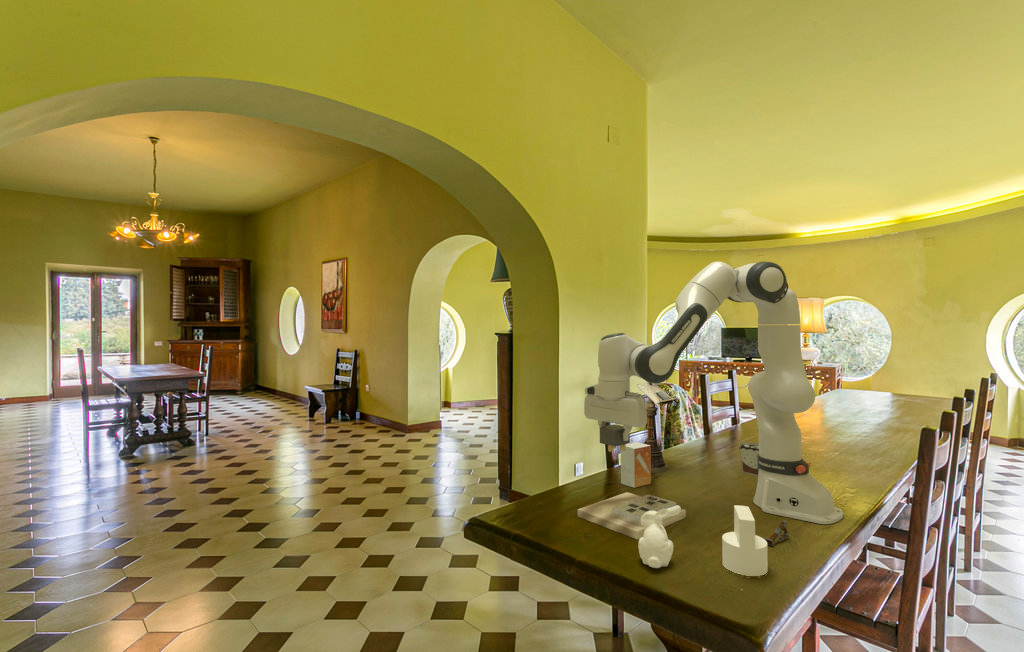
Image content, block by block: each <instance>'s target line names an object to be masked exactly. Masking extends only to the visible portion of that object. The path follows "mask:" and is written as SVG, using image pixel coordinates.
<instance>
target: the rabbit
mask: <svg viewBox="0 0 1024 652" xmlns="http://www.w3.org/2000/svg"><path fill="white" fill-rule="evenodd" d="M681 509H682V508H681V505H677V504H676V506H674V507H671V508H668V509H661V510H659V511H658V512H656V511H648V512H646V513H644V514H643V515H642V517H641V524H642V525H644V526H646V528H645V530H644V535H643V537H641V538H640V539H638V543H637V544H638V545H637V548H638V553H639V557H640V558H641V561H642V563H643V564H644V565H647V566H648V567H651V568H653V569H660V568H663V567H668V566H669V563H670V561H671V559H672V557H673V552H674V543H673V541H672V540H670V539H669V537H668V534H667V531H666V530H667V529H665V528H666V527H663V526H662V518H665V517H669V516H675V515H678V514H679V513H680V511H681Z"/></svg>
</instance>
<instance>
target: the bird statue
mask: <svg viewBox="0 0 1024 652" xmlns="http://www.w3.org/2000/svg"><path fill="white" fill-rule="evenodd" d="M659 385H660V384H659V383H650V382H647V381H646V380H645V382H644V385H643V384H640V383H638V384H636V387H637V388H638V390H640V391H642V392H643V393H644V394H645V395H646V396H647V399H648V401H645V407H646V413H647V426H646V428H647V436H646V438H645V439H644V440H643V441H644V442H643V444H647V445H650V446H651V473H654V474H656V473H657V474H658V473H659V474H660V473H663V472H667V471H669V469H668V464H667V463H666V462H665V459H664V457H663V455H664V454H663V452H662V450H661V449H660V448H659V446H658V445H659V444H658V443H657V439H656V438H655V437H654V429H655V427H654V423H655V422H654V419H655V417H656V416H657V415H658V412H657V411H658V408H659V406H660V405H661V406H663V405H670V404H673V403H676V404H678V401H677V400H678V397H674V398H673V397H672V396H671V395H669V394H668V393H667V392H666V391H665V390H664V389H662V387H660V386H659Z"/></svg>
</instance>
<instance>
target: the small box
mask: <svg viewBox="0 0 1024 652" xmlns="http://www.w3.org/2000/svg"><path fill="white" fill-rule="evenodd" d="M651 483H652V472H651V446H650V445H647V444H644V442H643V443H642V442H639V441H635V442H631V443H627V444H626V451H622V450H620V484H622V485H625V486H628V487H630V488H633V489H634V488H635V489H637V488H639V487H643V486H648V485H651Z"/></svg>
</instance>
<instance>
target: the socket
mask: <svg viewBox="0 0 1024 652" xmlns="http://www.w3.org/2000/svg"><path fill="white" fill-rule="evenodd" d="M676 505H677V502H675V501H673V500H669V499H665V498H661V497H659V496H655V495H652V494H646V495H642V496H641V497H640V498H637V499H635V500H632V501H629V502H627V503H624V504H621V505H619V506H616V507H613V517H614V518H617V519H620V520H623V521H625V522H628V523H631V524H634V525H636V526H639V527H643V526H644V525H642V524H641V517H642V515H643V514H644V513H646V512H648V511H656V512H658V511H659V510H661V509H668V508H671V507H674V506H676Z"/></svg>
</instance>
